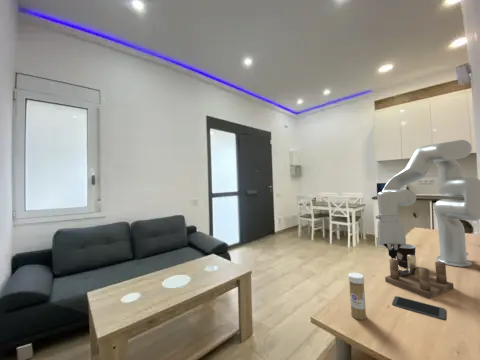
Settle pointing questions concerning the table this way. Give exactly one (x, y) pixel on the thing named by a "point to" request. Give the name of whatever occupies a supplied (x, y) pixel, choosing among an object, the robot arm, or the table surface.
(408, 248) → the coffee mug
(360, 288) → the sprinkles bottle
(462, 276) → the table surface
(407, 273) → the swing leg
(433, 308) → the cell phone
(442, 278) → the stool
